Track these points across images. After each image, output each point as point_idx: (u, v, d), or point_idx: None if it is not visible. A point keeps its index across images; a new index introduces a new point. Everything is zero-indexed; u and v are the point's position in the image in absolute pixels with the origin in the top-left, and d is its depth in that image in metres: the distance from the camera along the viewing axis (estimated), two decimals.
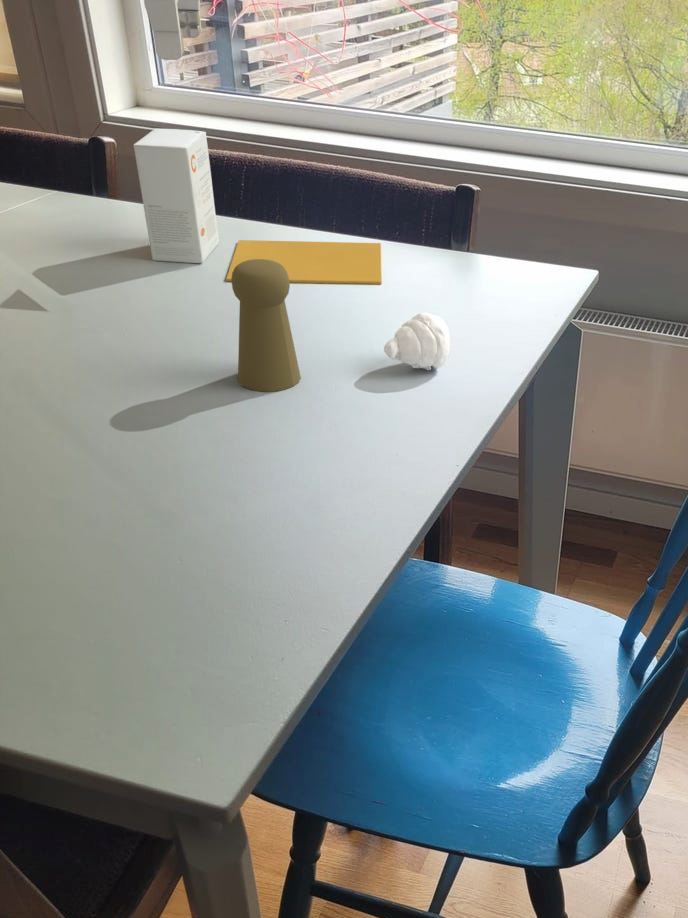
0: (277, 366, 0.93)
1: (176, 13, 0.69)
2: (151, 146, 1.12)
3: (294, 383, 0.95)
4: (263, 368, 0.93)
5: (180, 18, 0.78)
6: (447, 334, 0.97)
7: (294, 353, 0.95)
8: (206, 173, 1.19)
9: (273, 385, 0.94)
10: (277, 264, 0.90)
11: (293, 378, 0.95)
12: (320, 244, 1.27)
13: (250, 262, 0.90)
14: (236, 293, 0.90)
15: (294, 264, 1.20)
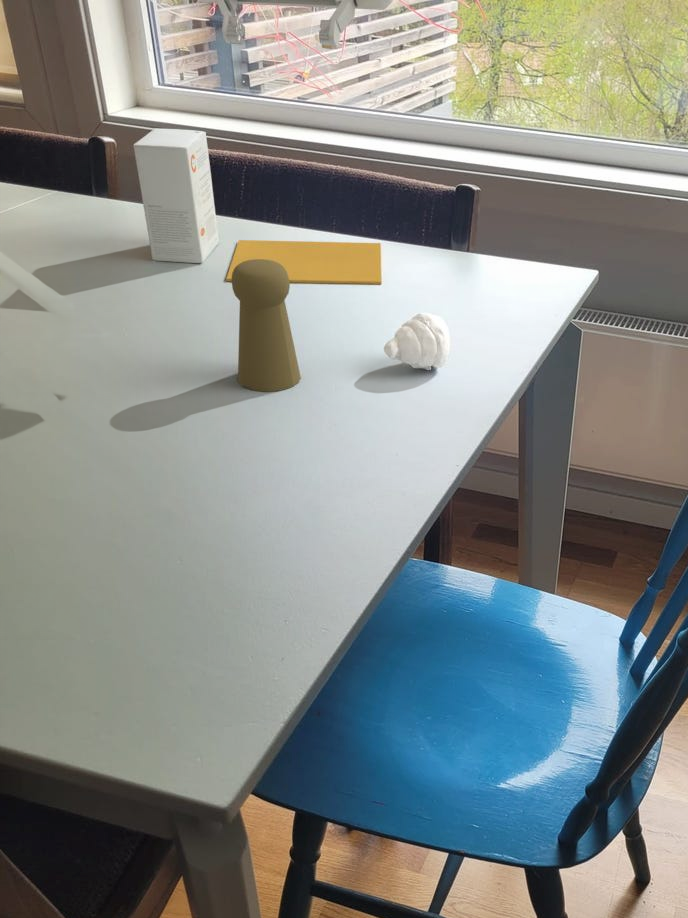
0: (277, 366, 0.93)
1: (348, 22, 0.94)
2: (151, 146, 1.12)
3: (294, 383, 0.95)
4: (263, 368, 0.93)
5: (239, 24, 0.94)
6: (447, 334, 0.97)
7: (294, 353, 0.95)
8: (206, 173, 1.19)
9: (273, 385, 0.94)
10: (277, 264, 0.90)
11: (293, 378, 0.95)
12: (320, 244, 1.27)
13: (250, 262, 0.90)
14: (236, 293, 0.90)
15: (294, 264, 1.20)
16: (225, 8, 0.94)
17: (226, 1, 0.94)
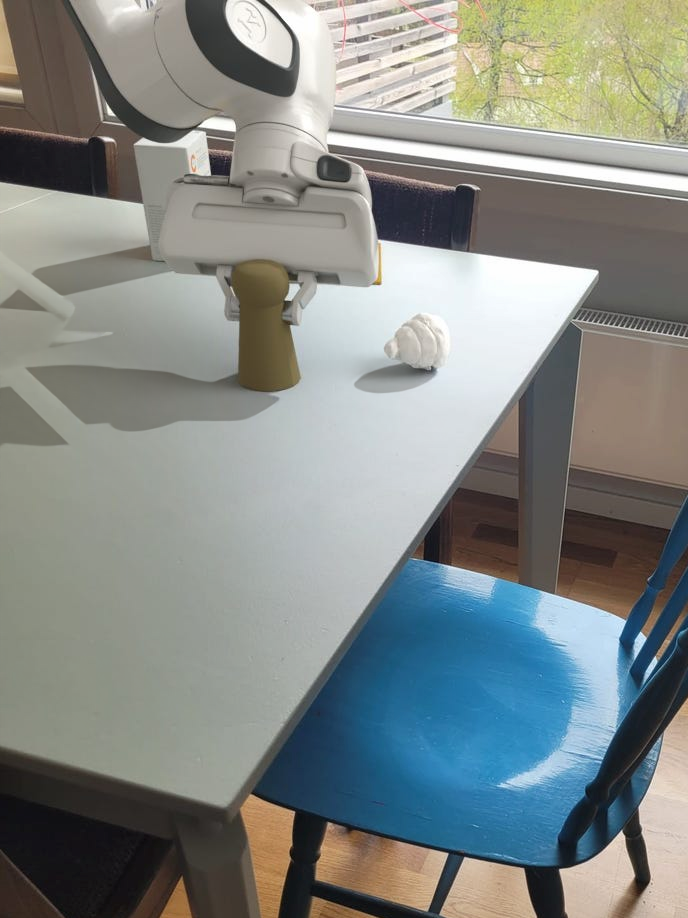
0: (277, 365, 0.93)
1: (310, 298, 0.93)
2: (151, 146, 1.12)
3: (294, 383, 0.95)
4: (263, 368, 0.93)
5: None
6: (447, 334, 0.97)
7: (294, 353, 0.95)
8: (206, 173, 1.19)
9: (273, 385, 0.94)
10: (277, 264, 0.90)
11: (293, 378, 0.95)
12: None
13: (250, 262, 0.90)
14: (236, 293, 0.90)
15: None
16: (227, 288, 0.92)
17: (227, 280, 0.92)
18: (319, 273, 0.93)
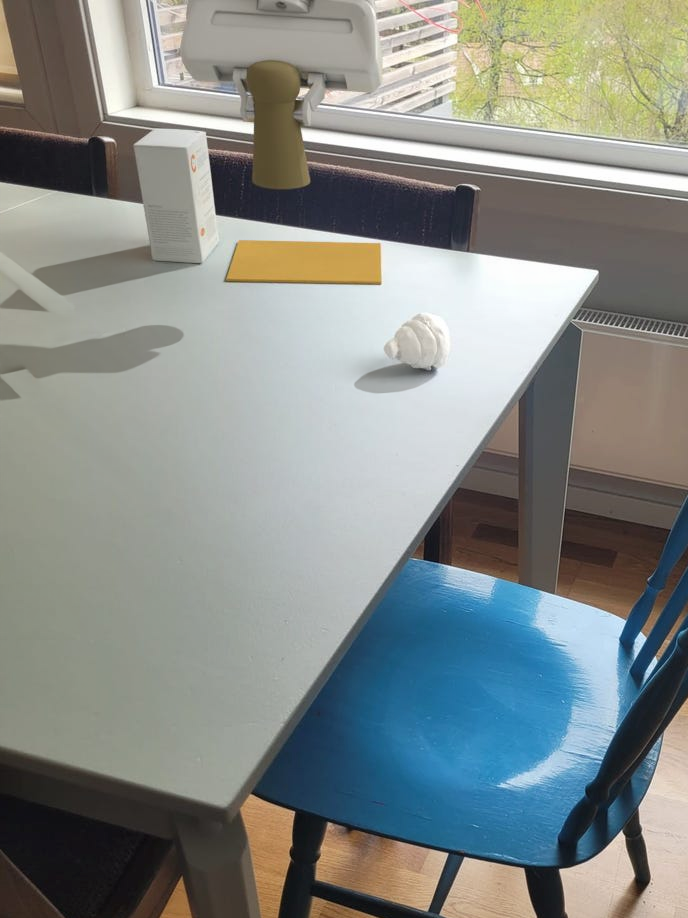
0: (289, 163, 1.01)
1: (319, 101, 1.01)
2: (151, 146, 1.12)
3: (304, 184, 1.03)
4: (275, 166, 1.01)
5: None
6: (447, 334, 0.97)
7: (304, 155, 1.03)
8: (206, 173, 1.19)
9: (285, 183, 1.02)
10: (289, 63, 0.98)
11: (303, 179, 1.03)
12: (320, 244, 1.27)
13: (264, 61, 0.97)
14: (251, 89, 0.97)
15: (294, 264, 1.20)
16: (243, 89, 1.00)
17: (243, 83, 1.00)
18: (327, 78, 1.01)
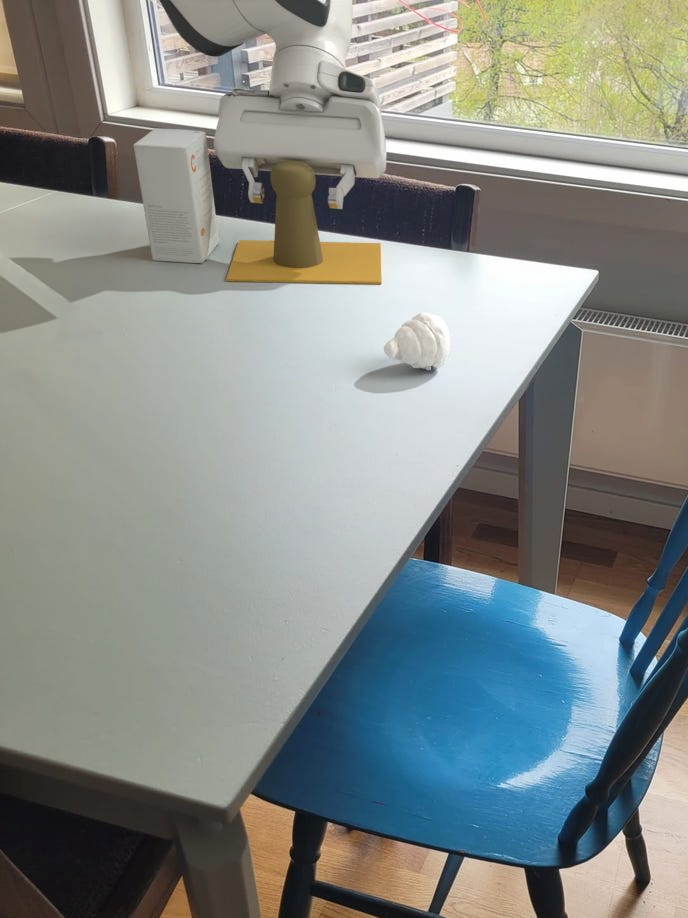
0: (305, 247, 1.19)
1: (350, 187, 1.18)
2: (151, 146, 1.12)
3: (318, 263, 1.21)
4: (294, 249, 1.18)
5: (262, 188, 1.17)
6: (447, 334, 0.97)
7: (318, 238, 1.20)
8: (206, 173, 1.19)
9: (302, 263, 1.19)
10: (306, 164, 1.15)
11: (317, 258, 1.20)
12: (320, 244, 1.27)
13: (285, 162, 1.15)
14: (274, 186, 1.15)
15: None
16: (250, 176, 1.17)
17: (251, 170, 1.17)
18: None
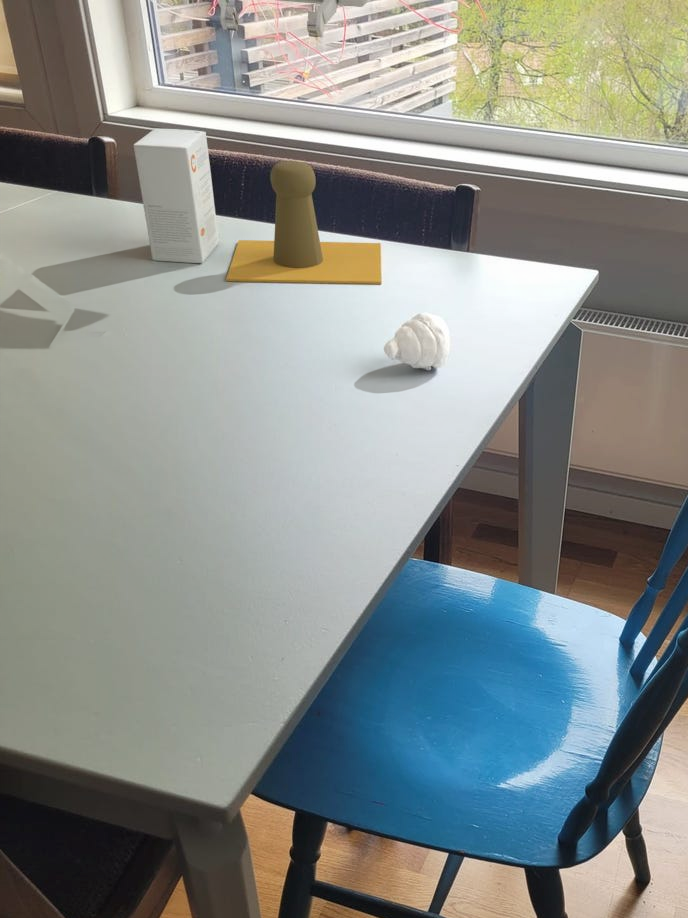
0: (305, 247, 1.19)
1: (331, 15, 1.09)
2: (151, 146, 1.12)
3: (318, 263, 1.21)
4: (294, 248, 1.18)
5: (235, 13, 1.07)
6: (447, 334, 0.97)
7: (318, 238, 1.20)
8: (206, 173, 1.19)
9: (302, 263, 1.19)
10: (306, 164, 1.15)
11: (317, 258, 1.20)
12: (320, 244, 1.27)
13: (285, 162, 1.15)
14: (274, 186, 1.15)
15: None
16: None
17: None
18: None
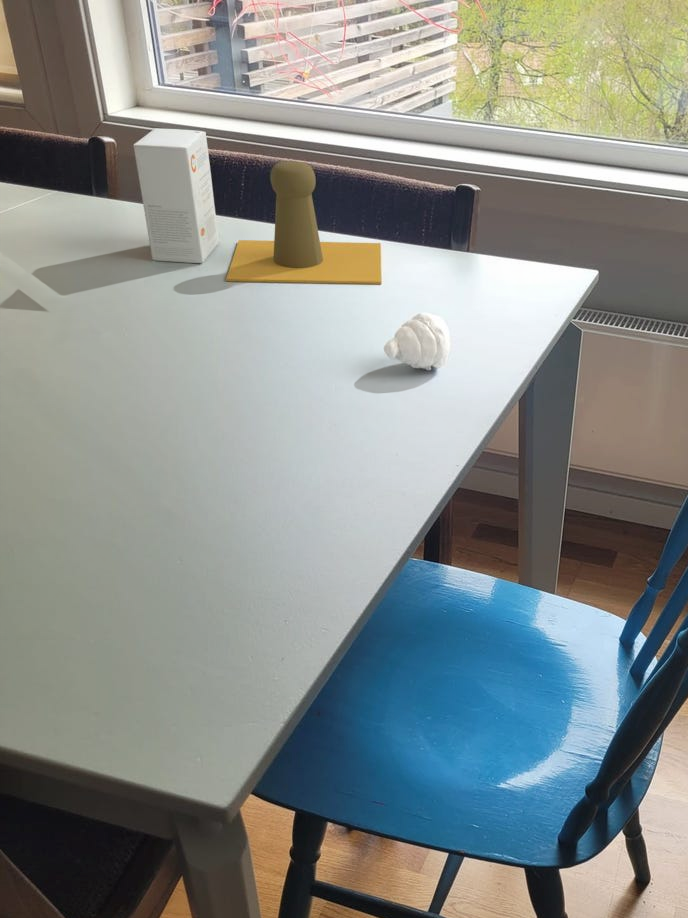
0: (305, 247, 1.19)
1: None
2: (151, 146, 1.12)
3: (318, 263, 1.21)
4: (294, 248, 1.18)
5: None
6: (447, 334, 0.97)
7: (318, 238, 1.20)
8: (206, 173, 1.19)
9: (302, 263, 1.19)
10: (306, 164, 1.15)
11: (317, 258, 1.20)
12: (320, 244, 1.27)
13: (285, 162, 1.15)
14: (274, 186, 1.15)
15: None
16: None
17: None
18: None
